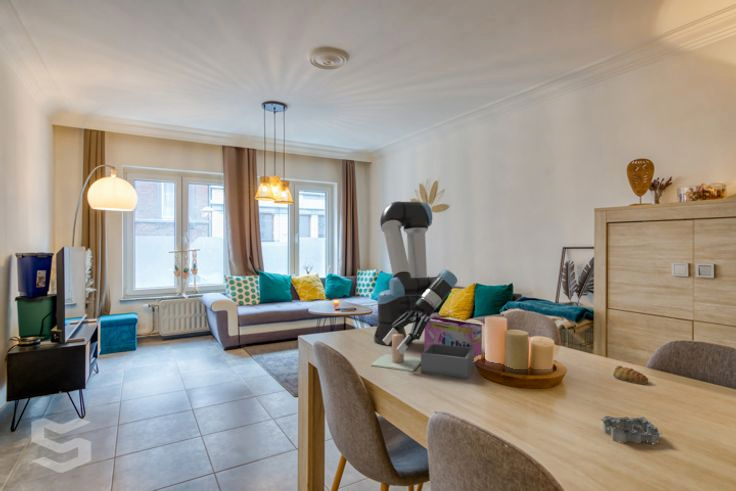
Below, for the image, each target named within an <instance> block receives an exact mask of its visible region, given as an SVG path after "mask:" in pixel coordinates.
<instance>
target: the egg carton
mask: <svg viewBox="0 0 736 491" xmlns="http://www.w3.org/2000/svg"><path fill="white" fill-rule="evenodd" d="M600 421H601V422H603V428H602V429H603V432H604V434H607V433H608V434H607V435H610V439H611V438H612V439H613V440H612V439H611V440H612V441H614V440H617V441H616V442H618V441H620V442H628V441H627V440H630V441H629V442H631V441H634V442H636V443H642V442H641V441H648V442H650V443H654V444H656V445H657V443H658V442H657V441H659V438H660V435H663V432H659V430H658V428H657V427H656V426H654V424H653V423H651V421H649V420H648V419H647V418H646V417H645V416H642V417H636V418H635V417H630V418H629V417H628V416H625V417H614V416H610V415H606V416H604V417H602V418H601V419H600ZM646 432H647V433H646ZM620 442H619V443H620ZM634 442H633V443H634ZM648 442H647V443H648ZM656 442H657V443H656ZM636 443H635V444H636ZM650 443H649V444H650ZM654 444H653V445H654Z"/></svg>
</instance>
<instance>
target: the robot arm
mask: <svg viewBox="0 0 736 491" xmlns="http://www.w3.org/2000/svg"><path fill="white" fill-rule="evenodd" d="M379 222H380V223H379V224H380V229H381V230H380V231H382V232H383V234H384V237H385V243H386V247H387V248H386V249H387V255H388V260H389V264H390V268H391V274H392V278H390V280H389V283H388V284H389V286H388V288H389V289H386V290H383V291H380V292H379V293H378V295H377V303H376V304H377V326H376V329H375V332H374V336H373V340H374V343H375V344H378V345H382V346H383V345H385V346H386V345H387V346H392V335H393V334H403V335H404V340H403V341H402V343H401V344H400V345H399V346H398V348H397V350H398V351H399V352H400V353H401V354H403V352H404V353H405V351H406V350H407V349H408V347H410V345H411V344H412V343H413V341H416V340H417V341H419V340H420V339H421V337H422V335H423V333H424V331H425V326H426V324H427V323H428V321H429V320H430V319H431V318H430V317H431V316H433V314H434V312H435V310H436V309H437V308H438V307H439V306H440V305H441V303H442V302H443V301H444V299H445V298H446V297H447V296H448V295H449V294H450V292H451V291H452V290H453V289H454V288H455V286H456V284H458V278H457V277H456V275H455V274H454V273H453V272H451V271H450V270H448V269H443V270H442V271H440V272H439V273H438V274H437V275H436V276H431V277H428V271H427V270H428V269H427V268H428V267H427V244H426V242H427V241H426V232H428V231H429V227H430V226H432V224H433V223H432V222H433V212H432V209H431V206H430V205H429V204H428V203H427V202H425V201H394V202H391V203H389V204H388V205H387V206H386V207H385V209H384V210H383V211H382V213H381V217H380V221H379ZM402 227H403V232H405V234H406V241H407V243H406V244H407V251H406V248H405V244H404V239H403V234H402V230H401V229H402ZM409 324H412V327H411V329H410V333H406V329H405V327H406V326H408V325H409Z"/></svg>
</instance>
